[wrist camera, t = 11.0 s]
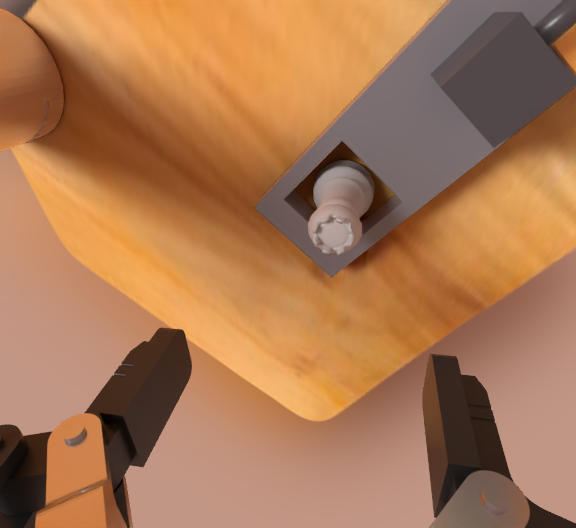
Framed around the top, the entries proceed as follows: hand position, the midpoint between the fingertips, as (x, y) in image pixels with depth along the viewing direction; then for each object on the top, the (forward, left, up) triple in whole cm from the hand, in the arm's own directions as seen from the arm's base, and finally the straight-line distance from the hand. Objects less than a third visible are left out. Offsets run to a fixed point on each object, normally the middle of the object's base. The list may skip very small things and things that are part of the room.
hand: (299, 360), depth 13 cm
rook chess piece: (+1, -1, -20) cm, 20 cm away
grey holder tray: (+1, +5, -19) cm, 20 cm away
